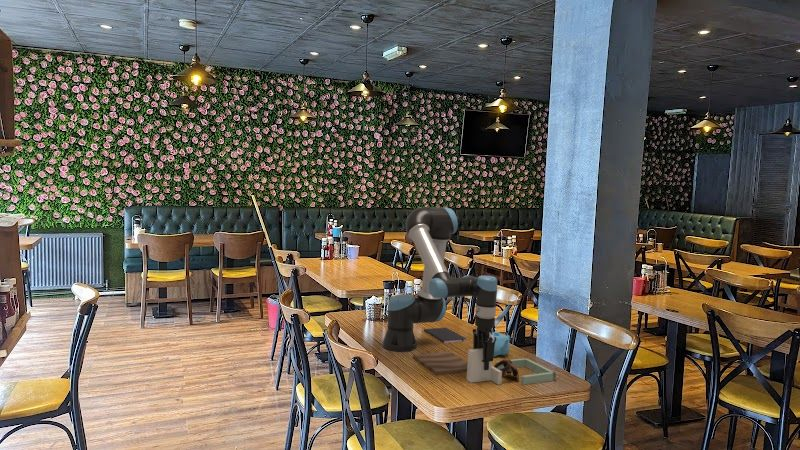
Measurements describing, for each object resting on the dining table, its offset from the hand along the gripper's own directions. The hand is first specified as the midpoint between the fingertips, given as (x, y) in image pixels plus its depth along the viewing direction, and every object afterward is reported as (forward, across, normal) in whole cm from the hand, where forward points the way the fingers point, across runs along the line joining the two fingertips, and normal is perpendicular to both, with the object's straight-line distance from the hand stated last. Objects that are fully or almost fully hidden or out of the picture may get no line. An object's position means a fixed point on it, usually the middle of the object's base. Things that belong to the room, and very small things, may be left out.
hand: (481, 375), depth 218 cm
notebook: (+2, -58, +15) cm, 60 cm away
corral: (+2, 0, +20) cm, 20 cm away
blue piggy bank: (+2, -26, +24) cm, 36 cm away
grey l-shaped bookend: (+2, 0, -1) cm, 2 cm away
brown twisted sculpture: (+2, +1, +11) cm, 11 cm away
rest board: (+2, -21, -6) cm, 22 cm away
